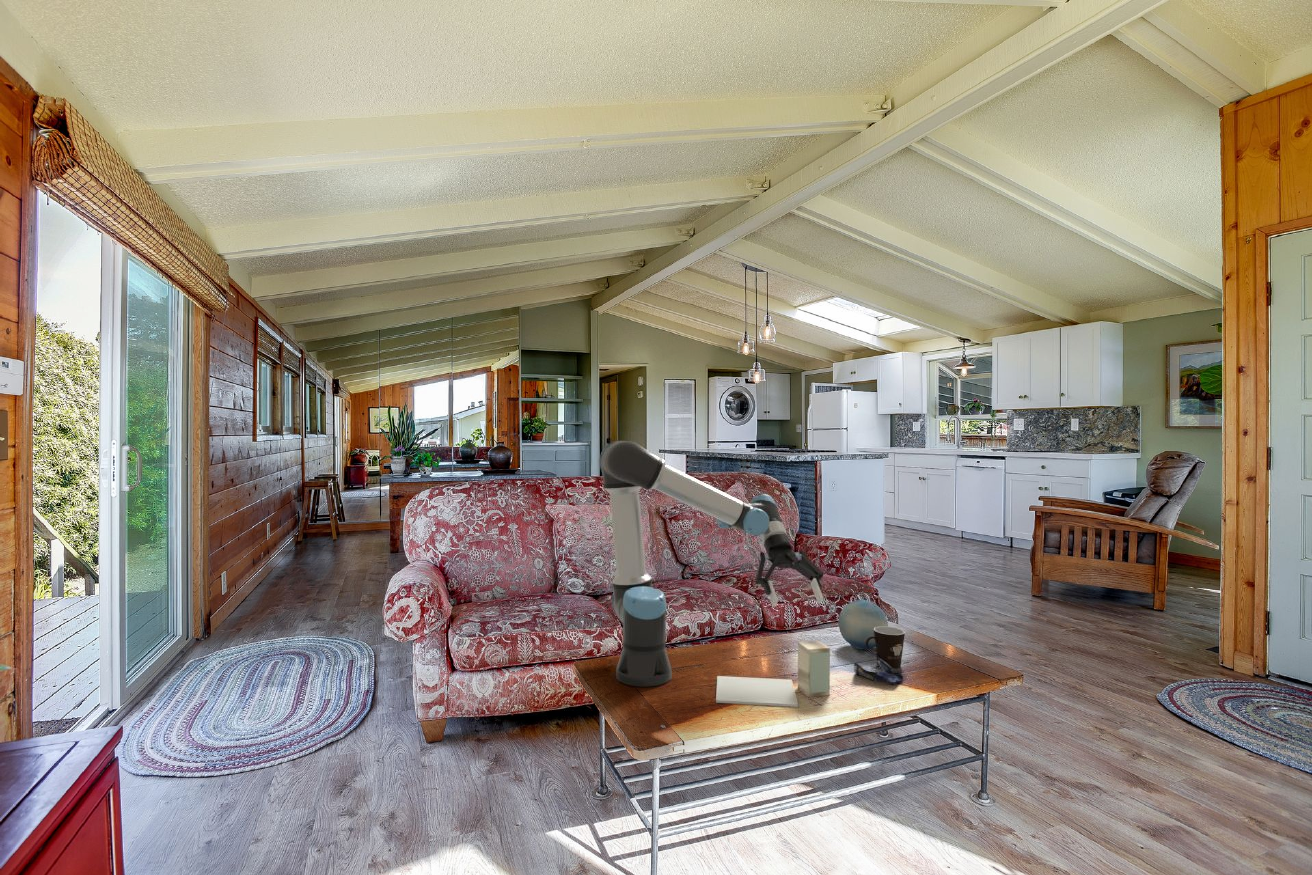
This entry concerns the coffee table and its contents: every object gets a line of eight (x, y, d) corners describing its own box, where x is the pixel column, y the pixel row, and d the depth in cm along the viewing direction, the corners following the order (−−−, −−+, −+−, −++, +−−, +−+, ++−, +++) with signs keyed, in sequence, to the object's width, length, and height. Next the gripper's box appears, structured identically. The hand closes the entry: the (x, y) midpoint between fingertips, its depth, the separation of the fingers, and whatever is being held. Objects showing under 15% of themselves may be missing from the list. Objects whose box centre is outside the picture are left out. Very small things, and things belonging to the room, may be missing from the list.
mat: (715, 702, 163) (715, 699, 163) (717, 678, 180) (717, 675, 180) (798, 706, 161) (798, 704, 161) (791, 681, 178) (791, 679, 178)
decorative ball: (898, 650, 205) (898, 602, 205) (865, 658, 197) (866, 608, 197) (860, 638, 218) (860, 593, 218) (828, 645, 210) (828, 598, 210)
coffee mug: (900, 660, 196) (900, 626, 196) (908, 670, 188) (908, 635, 188) (860, 658, 197) (860, 625, 197) (866, 668, 189) (866, 633, 189)
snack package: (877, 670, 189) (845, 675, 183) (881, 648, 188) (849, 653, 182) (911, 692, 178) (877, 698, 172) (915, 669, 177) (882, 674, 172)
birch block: (808, 697, 167) (809, 649, 167) (797, 687, 173) (798, 642, 173) (830, 695, 169) (830, 648, 169) (818, 686, 175) (818, 640, 175)
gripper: (810, 545, 202) (834, 606, 187) (733, 549, 196) (752, 612, 182) (818, 530, 197) (844, 592, 182) (739, 534, 191) (759, 597, 176)
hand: (798, 602), depth 182 cm, fingers open, 13 cm apart
